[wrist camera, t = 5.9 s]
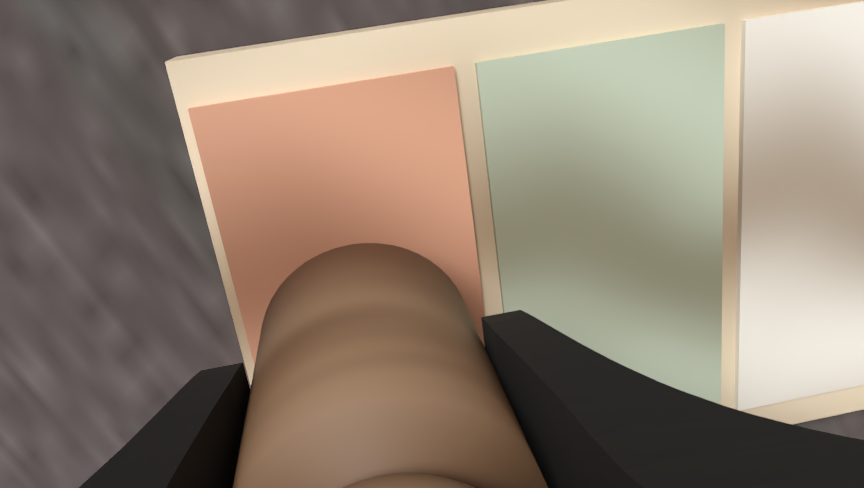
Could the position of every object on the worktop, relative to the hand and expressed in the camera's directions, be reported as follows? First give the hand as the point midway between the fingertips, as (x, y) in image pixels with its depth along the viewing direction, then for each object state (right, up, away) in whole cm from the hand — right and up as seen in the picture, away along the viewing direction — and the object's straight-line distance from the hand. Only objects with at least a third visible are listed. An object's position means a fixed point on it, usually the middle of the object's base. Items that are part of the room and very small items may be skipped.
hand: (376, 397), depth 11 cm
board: (+4, +2, +5) cm, 7 cm away
